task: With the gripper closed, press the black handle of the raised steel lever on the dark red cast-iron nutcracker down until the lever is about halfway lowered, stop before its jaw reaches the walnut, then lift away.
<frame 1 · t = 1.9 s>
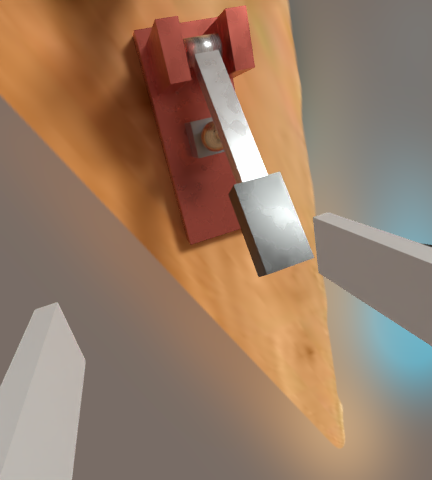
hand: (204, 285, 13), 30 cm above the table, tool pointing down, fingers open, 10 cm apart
nutcracker lever: (239, 147, 28), point 13 cm above the table, hinge at 30.0°
nutcracker base: (200, 140, 40), on the table
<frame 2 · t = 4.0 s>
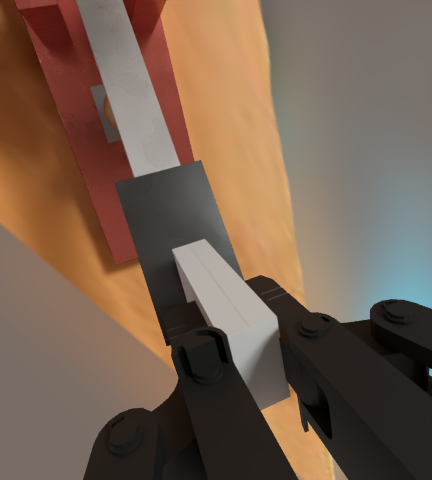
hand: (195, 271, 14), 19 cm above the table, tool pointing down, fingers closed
nutcracker lever: (138, 119, 17), point 13 cm above the table, hinge at 29.4°, touching gripper
nutcracker base: (125, 120, 29), on the table
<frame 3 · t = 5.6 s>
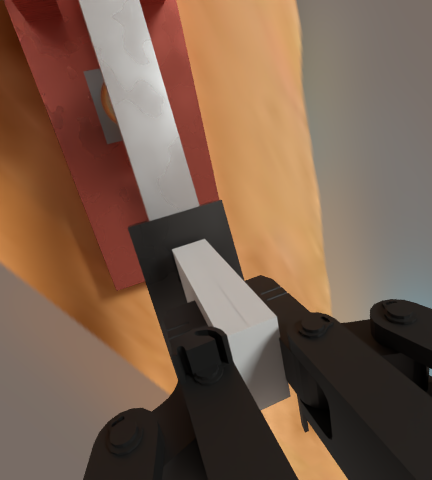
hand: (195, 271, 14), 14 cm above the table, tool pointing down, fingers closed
nutcracker lever: (150, 139, 15), point 10 cm above the table, hinge at 13.4°, touching gripper
nutcracker base: (128, 115, 23), on the table
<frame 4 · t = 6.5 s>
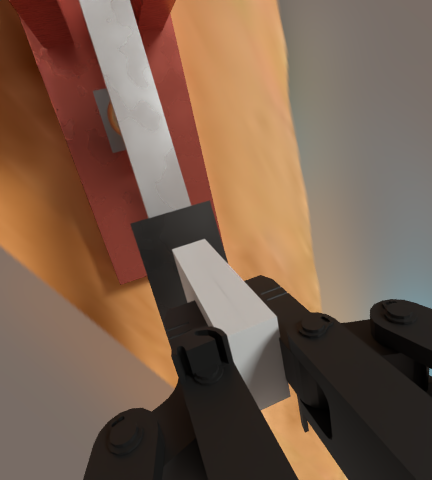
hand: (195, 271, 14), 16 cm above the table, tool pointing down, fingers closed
nutcracker lever: (149, 149, 17), point 10 cm above the table, hinge at 13.4°
nutcracker base: (130, 127, 26), on the table
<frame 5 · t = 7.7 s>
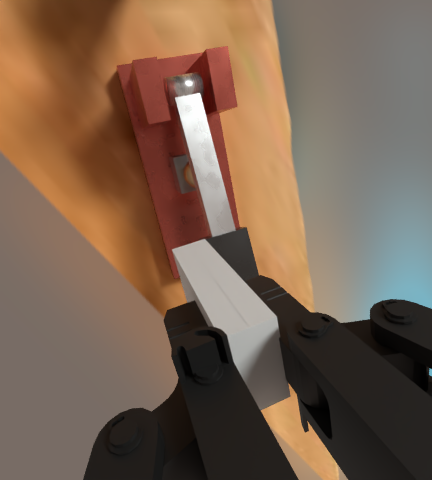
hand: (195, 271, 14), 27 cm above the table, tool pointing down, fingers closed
nutcracker lever: (212, 197, 30), point 10 cm above the table, hinge at 13.4°
nutcracker base: (186, 173, 39), on the table
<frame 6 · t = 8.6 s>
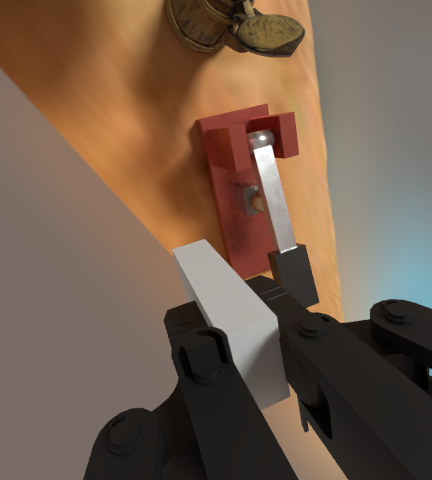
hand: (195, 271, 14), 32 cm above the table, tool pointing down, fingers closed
nutcracker lever: (278, 222, 40), point 10 cm above the table, hinge at 13.4°
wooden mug: (206, 32, 40), on the table
nutcracker base: (245, 196, 49), on the table
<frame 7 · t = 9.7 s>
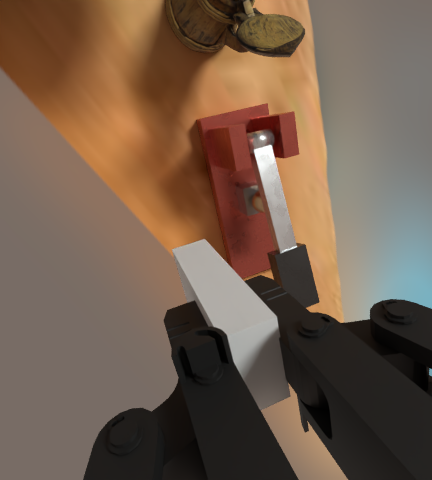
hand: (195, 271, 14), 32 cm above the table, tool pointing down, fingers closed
nutcracker lever: (279, 222, 40), point 10 cm above the table, hinge at 13.4°
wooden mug: (206, 32, 40), on the table
nutcracker base: (245, 196, 49), on the table
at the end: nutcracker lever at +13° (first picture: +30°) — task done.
